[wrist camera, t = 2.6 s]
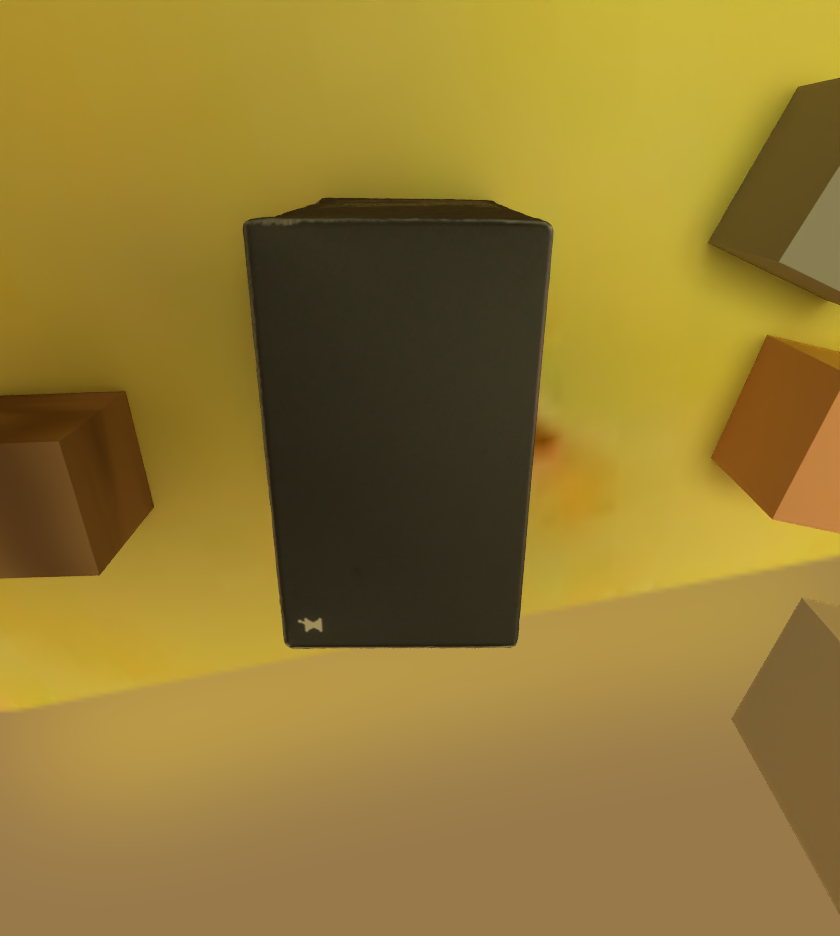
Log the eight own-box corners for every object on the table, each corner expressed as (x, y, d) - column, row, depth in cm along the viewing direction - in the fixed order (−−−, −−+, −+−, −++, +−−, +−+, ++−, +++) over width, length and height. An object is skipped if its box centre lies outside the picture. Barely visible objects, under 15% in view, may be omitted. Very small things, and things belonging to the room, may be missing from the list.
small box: (491, 480, 26) (528, 661, 16) (330, 479, 26) (274, 658, 17) (508, 196, 21) (571, 219, 12) (312, 195, 22) (222, 217, 12)
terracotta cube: (710, 456, 25) (772, 519, 21) (766, 334, 23) (848, 374, 19) (826, 481, 26) (912, 548, 21) (891, 363, 24) (1001, 410, 19)
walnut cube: (35, 509, 27) (-43, 579, 22) (-3, 395, 25) (-99, 446, 20) (154, 505, 27) (99, 575, 22) (126, 390, 25) (58, 441, 20)
